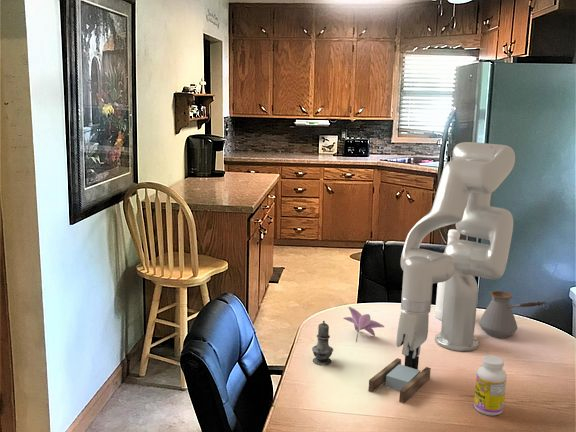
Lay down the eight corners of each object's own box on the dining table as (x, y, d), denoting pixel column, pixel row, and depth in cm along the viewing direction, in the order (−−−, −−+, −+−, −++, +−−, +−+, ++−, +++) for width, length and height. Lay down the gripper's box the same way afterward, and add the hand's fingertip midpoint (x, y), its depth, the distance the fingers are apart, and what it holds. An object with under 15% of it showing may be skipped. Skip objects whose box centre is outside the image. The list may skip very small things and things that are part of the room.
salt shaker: (331, 367, 163) (333, 325, 161) (310, 364, 165) (311, 323, 162) (334, 357, 169) (335, 317, 167) (313, 355, 170) (314, 315, 168)
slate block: (398, 376, 160) (399, 364, 159) (419, 382, 157) (420, 370, 156) (385, 388, 153) (386, 375, 153) (407, 395, 150) (408, 382, 150)
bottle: (457, 323, 196) (466, 234, 190) (433, 319, 199) (440, 231, 193) (460, 315, 204) (467, 229, 197) (436, 311, 206) (443, 226, 200)
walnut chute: (396, 368, 164) (397, 358, 163) (429, 378, 158) (430, 368, 158) (368, 391, 151) (369, 380, 150) (403, 403, 145) (404, 391, 145)
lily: (386, 347, 179) (391, 315, 182) (357, 339, 173) (362, 306, 176) (359, 345, 189) (364, 315, 192) (331, 337, 183) (336, 306, 186)
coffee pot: (470, 330, 191) (474, 285, 188) (493, 323, 197) (498, 279, 194) (529, 355, 174) (535, 306, 171) (553, 347, 180) (559, 299, 177)
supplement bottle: (469, 402, 147) (474, 353, 144) (495, 402, 147) (500, 353, 145) (480, 417, 140) (485, 366, 137) (507, 416, 141) (513, 365, 138)
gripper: (414, 293, 164) (409, 356, 168) (389, 308, 152) (385, 376, 156) (440, 299, 159) (435, 364, 163) (417, 315, 148) (412, 384, 151)
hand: (410, 369), depth 159 cm, fingers closed
